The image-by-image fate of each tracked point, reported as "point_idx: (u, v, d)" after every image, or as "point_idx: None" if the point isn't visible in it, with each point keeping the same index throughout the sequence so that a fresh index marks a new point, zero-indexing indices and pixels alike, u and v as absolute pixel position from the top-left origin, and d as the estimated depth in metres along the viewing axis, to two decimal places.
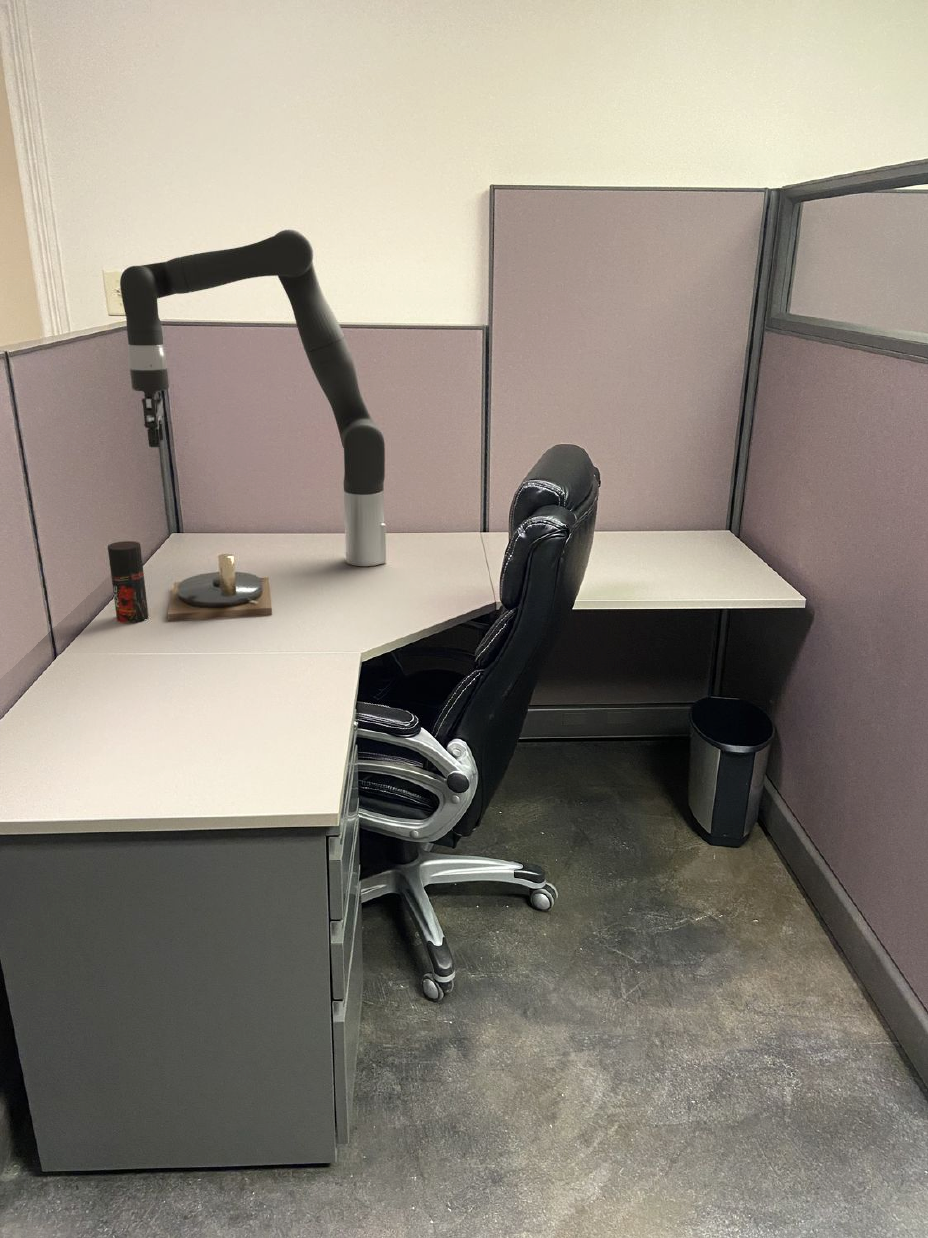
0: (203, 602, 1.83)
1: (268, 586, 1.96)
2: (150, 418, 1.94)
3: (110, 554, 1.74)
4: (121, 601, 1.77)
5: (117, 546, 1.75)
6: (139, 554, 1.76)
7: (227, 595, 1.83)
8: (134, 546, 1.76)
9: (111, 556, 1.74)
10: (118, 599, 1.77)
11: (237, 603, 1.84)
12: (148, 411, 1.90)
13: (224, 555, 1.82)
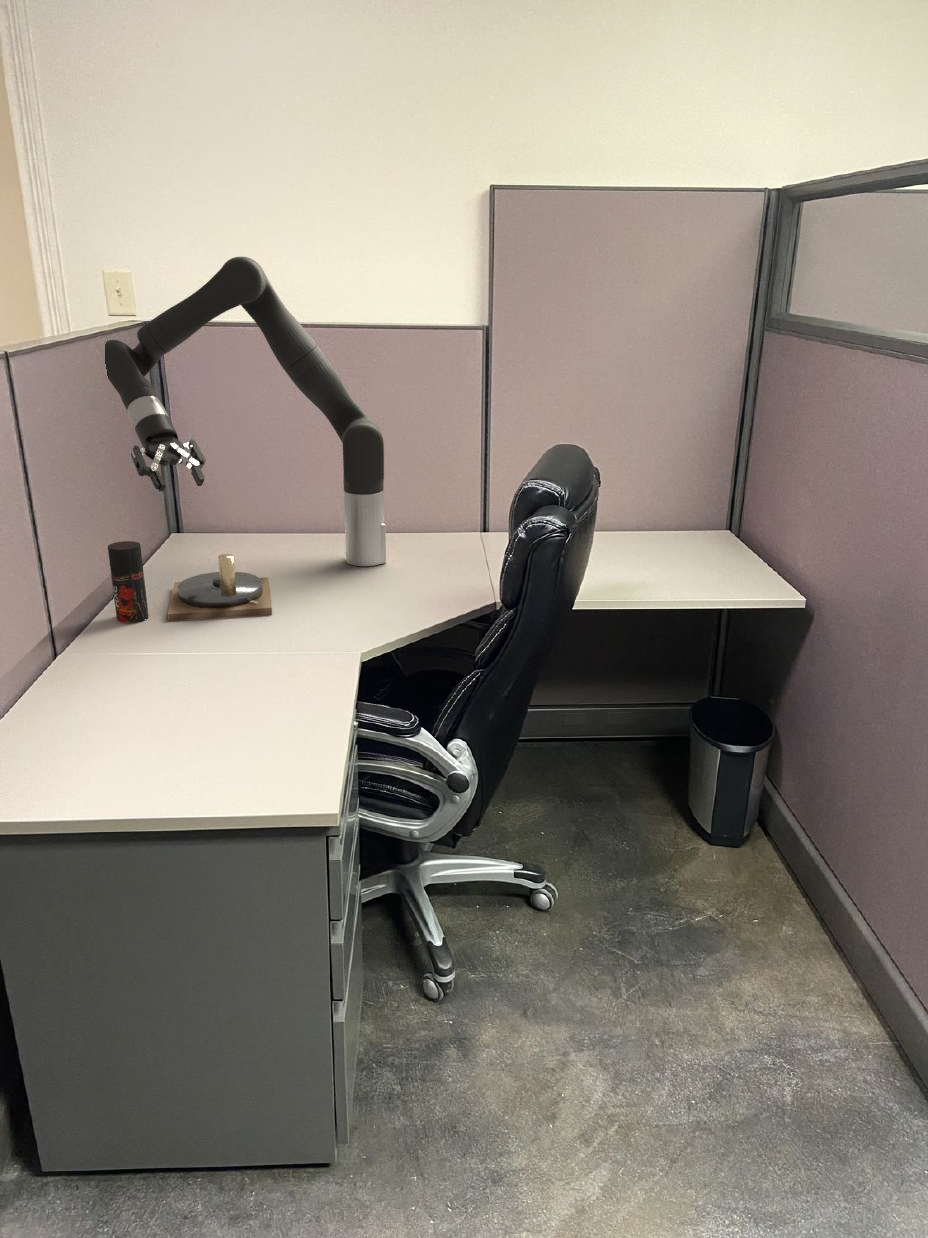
0: (203, 602, 1.83)
1: (268, 586, 1.96)
2: None
3: (110, 554, 1.74)
4: (121, 601, 1.77)
5: (117, 546, 1.75)
6: (139, 554, 1.76)
7: (227, 595, 1.83)
8: (134, 546, 1.76)
9: (111, 556, 1.74)
10: (118, 599, 1.77)
11: (237, 603, 1.84)
12: (135, 460, 1.87)
13: (224, 555, 1.82)
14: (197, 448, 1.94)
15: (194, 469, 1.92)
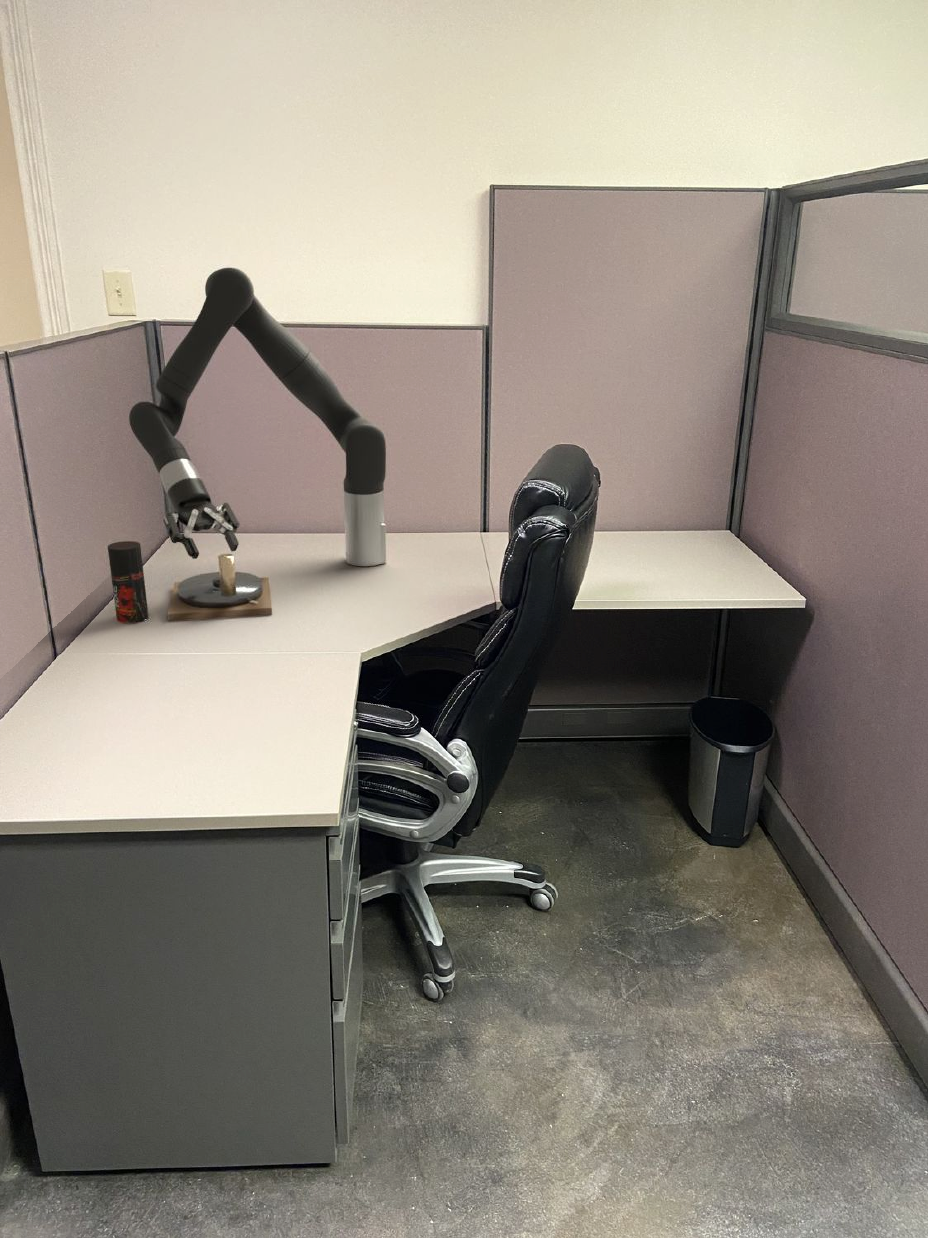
0: (203, 602, 1.83)
1: (268, 586, 1.96)
2: None
3: (110, 554, 1.74)
4: (121, 601, 1.77)
5: (117, 546, 1.75)
6: (139, 554, 1.76)
7: (227, 595, 1.83)
8: (134, 546, 1.76)
9: (111, 556, 1.74)
10: (118, 599, 1.77)
11: (237, 603, 1.84)
12: (168, 526, 1.82)
13: (224, 555, 1.82)
14: (230, 511, 1.89)
15: (228, 534, 1.87)
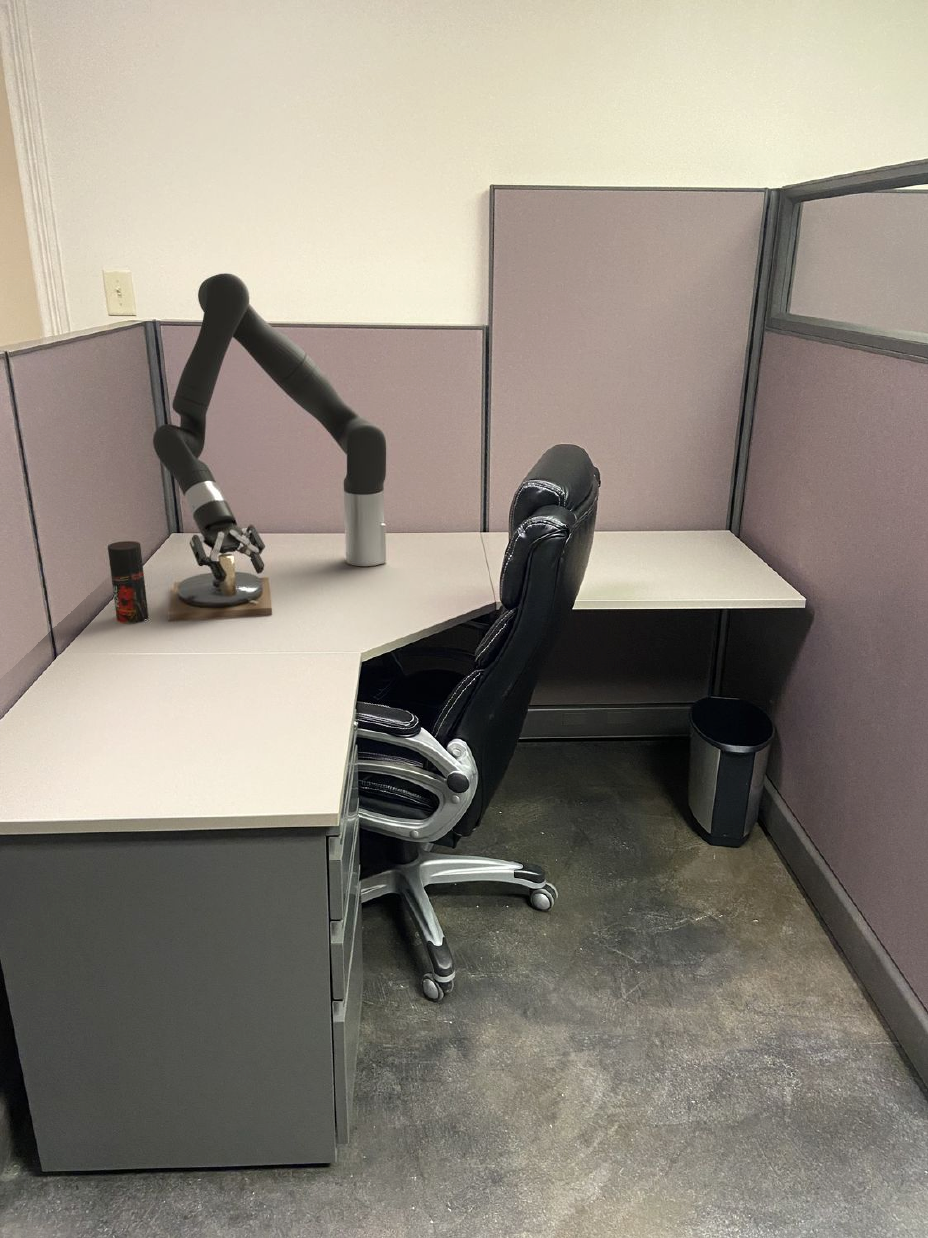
0: (203, 602, 1.83)
1: (268, 586, 1.96)
2: None
3: (110, 554, 1.74)
4: (121, 601, 1.77)
5: (117, 546, 1.75)
6: (139, 554, 1.76)
7: (227, 595, 1.83)
8: (134, 546, 1.76)
9: (111, 556, 1.74)
10: (118, 599, 1.77)
11: (237, 603, 1.84)
12: (194, 549, 1.81)
13: (224, 555, 1.82)
14: (255, 533, 1.89)
15: (254, 556, 1.86)
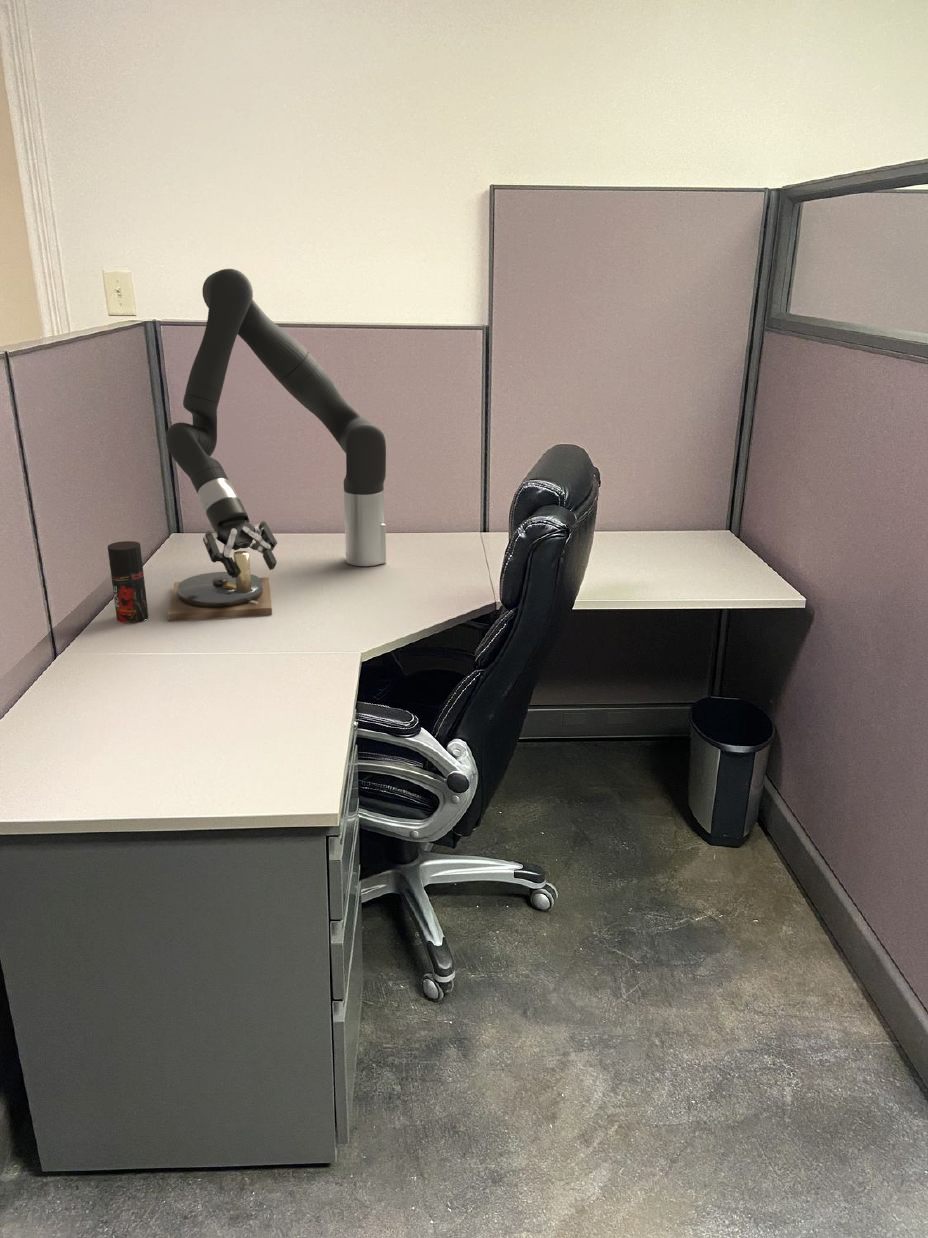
0: (224, 601, 1.83)
1: (268, 586, 1.96)
2: None
3: (110, 554, 1.74)
4: (121, 601, 1.77)
5: (117, 546, 1.75)
6: (139, 554, 1.76)
7: (246, 591, 1.85)
8: (134, 546, 1.76)
9: (111, 556, 1.74)
10: (118, 599, 1.77)
11: (253, 598, 1.87)
12: (207, 546, 1.83)
13: (238, 552, 1.84)
14: (268, 530, 1.91)
15: (266, 552, 1.88)
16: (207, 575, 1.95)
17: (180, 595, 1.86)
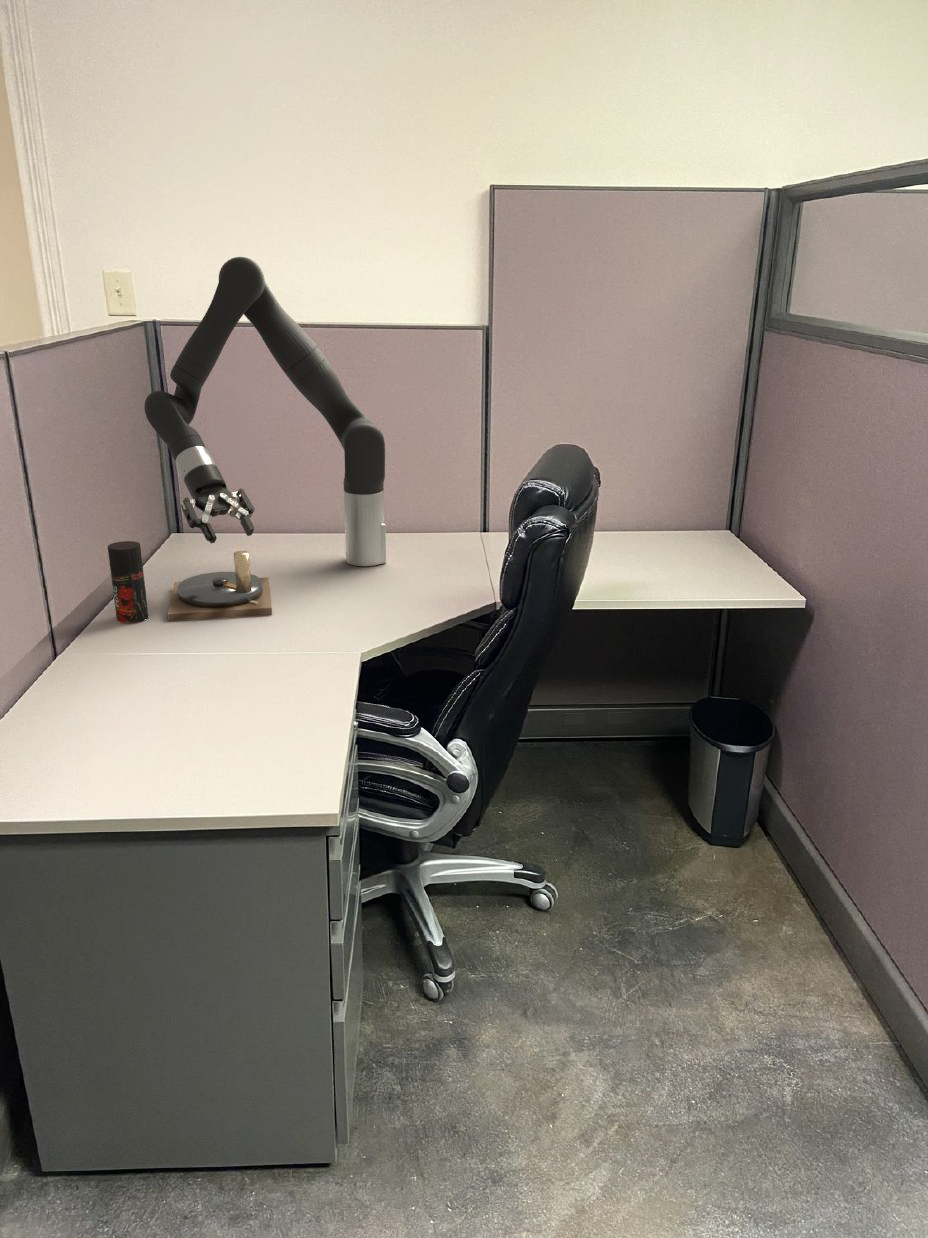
0: (224, 601, 1.83)
1: (268, 586, 1.96)
2: None
3: (110, 554, 1.74)
4: (121, 601, 1.77)
5: (117, 546, 1.75)
6: (139, 554, 1.76)
7: (246, 591, 1.85)
8: (134, 546, 1.76)
9: (111, 556, 1.74)
10: (118, 599, 1.77)
11: (253, 598, 1.87)
12: (185, 512, 1.86)
13: (238, 552, 1.84)
14: (245, 497, 1.93)
15: (244, 519, 1.91)
16: (207, 575, 1.95)
17: (180, 595, 1.86)
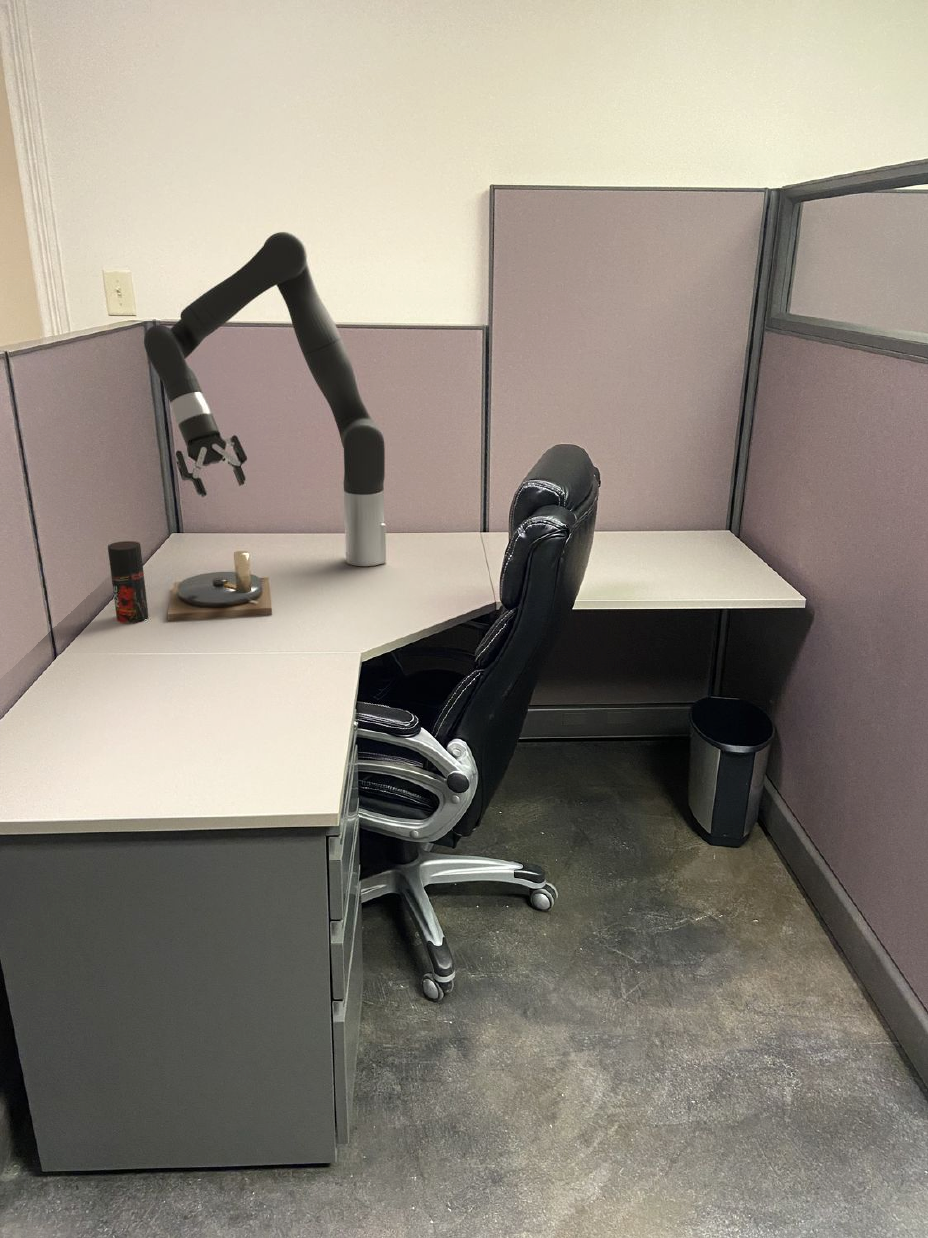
0: (224, 601, 1.83)
1: (268, 586, 1.96)
2: None
3: (110, 554, 1.74)
4: (121, 601, 1.77)
5: (117, 546, 1.75)
6: (139, 554, 1.76)
7: (246, 591, 1.85)
8: (134, 546, 1.76)
9: (111, 556, 1.74)
10: (118, 599, 1.77)
11: (253, 598, 1.87)
12: (178, 464, 1.92)
13: (238, 552, 1.84)
14: (238, 445, 1.97)
15: (235, 470, 1.96)
16: (207, 575, 1.95)
17: (180, 595, 1.86)
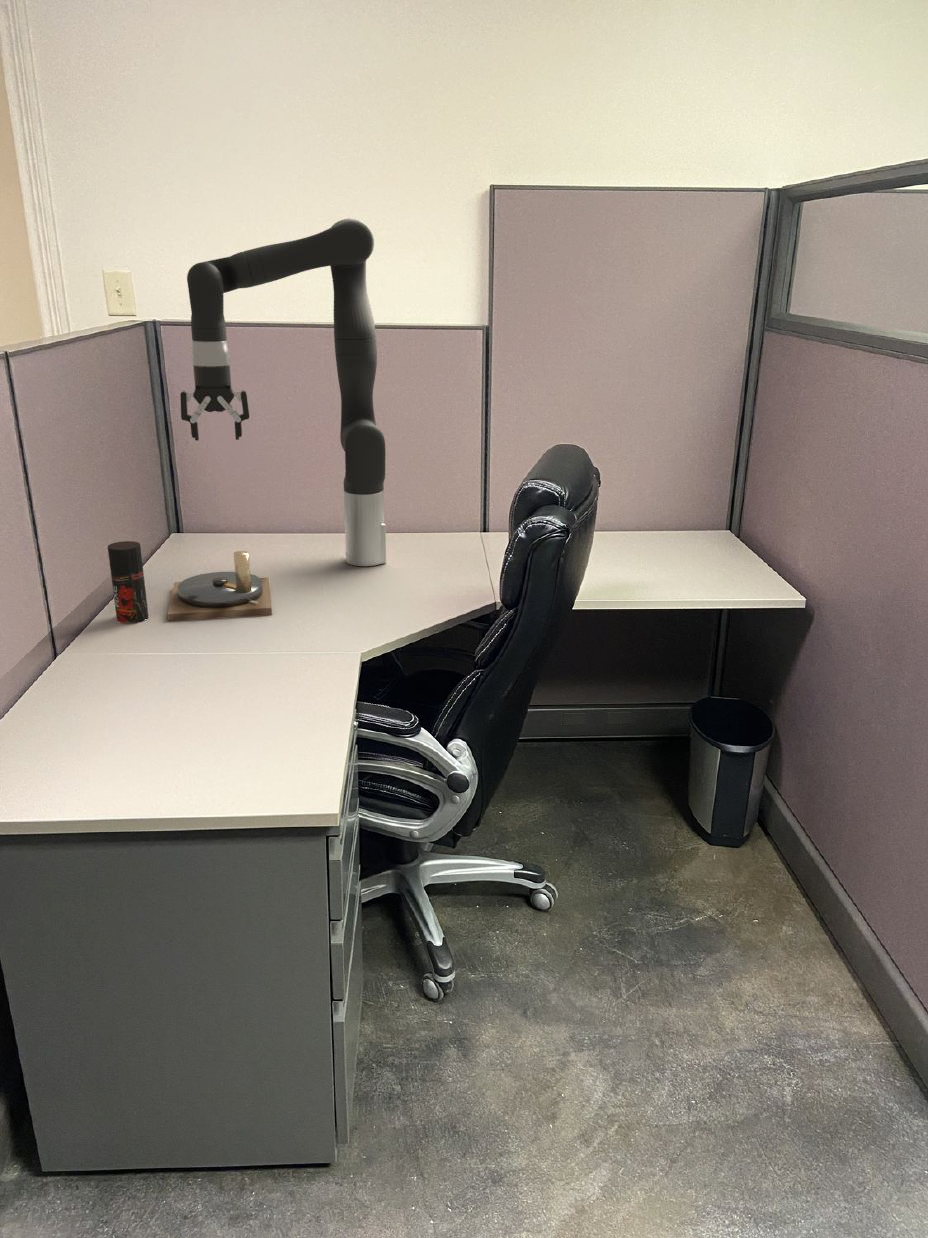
0: (224, 601, 1.83)
1: (268, 586, 1.96)
2: None
3: (110, 554, 1.74)
4: (121, 601, 1.77)
5: (117, 546, 1.75)
6: (139, 554, 1.76)
7: (246, 591, 1.85)
8: (134, 546, 1.76)
9: (111, 556, 1.74)
10: (118, 599, 1.77)
11: (253, 598, 1.87)
12: None
13: (238, 552, 1.84)
14: (245, 402, 1.98)
15: None
16: (207, 575, 1.95)
17: (180, 595, 1.86)
